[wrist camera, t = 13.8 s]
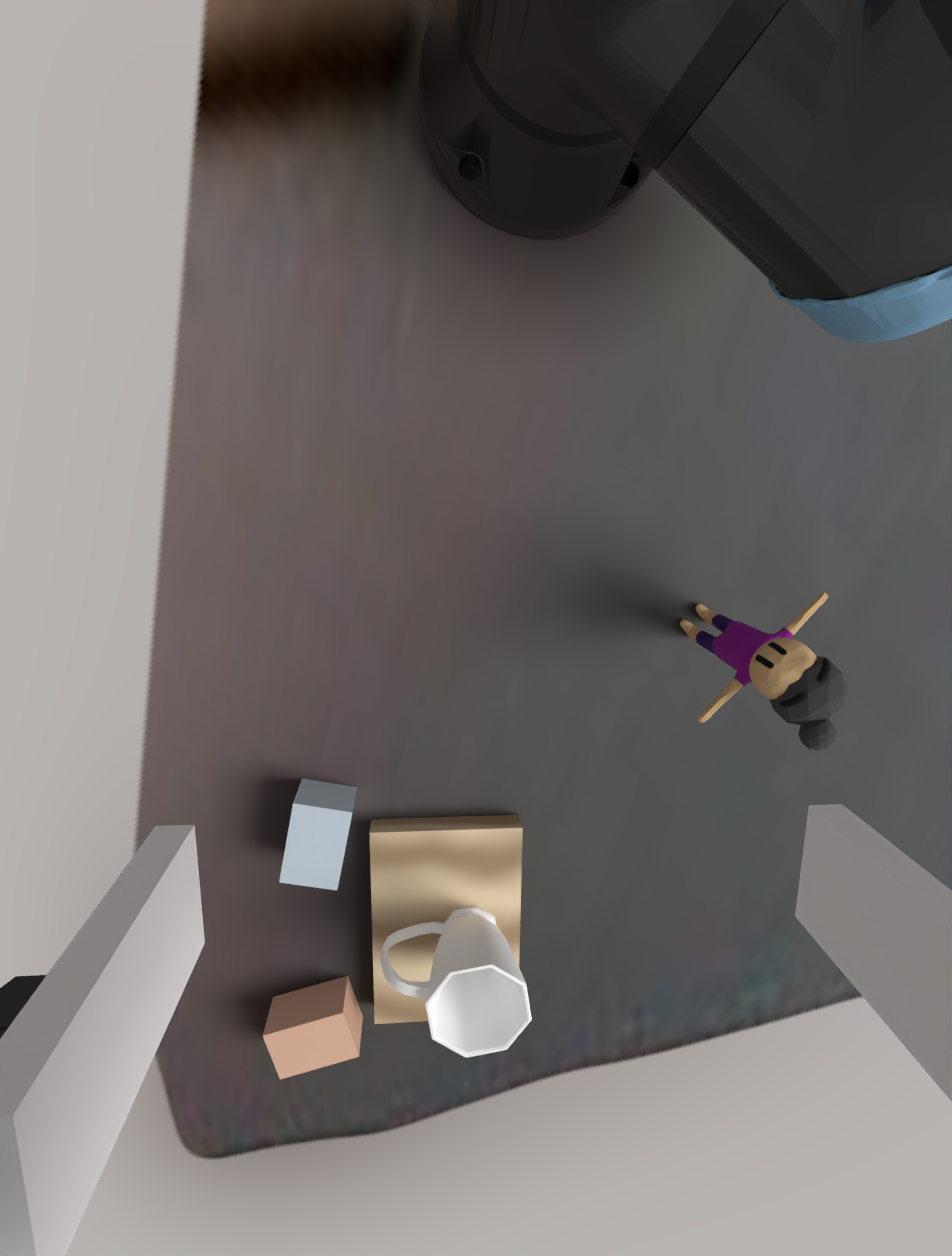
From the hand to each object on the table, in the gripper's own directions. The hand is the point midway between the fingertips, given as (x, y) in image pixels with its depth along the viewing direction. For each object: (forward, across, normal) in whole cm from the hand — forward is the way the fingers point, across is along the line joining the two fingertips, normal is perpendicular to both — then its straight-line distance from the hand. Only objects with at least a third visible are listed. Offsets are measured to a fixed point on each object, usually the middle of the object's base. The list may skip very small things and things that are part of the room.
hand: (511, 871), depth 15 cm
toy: (+35, +19, -3) cm, 40 cm away
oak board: (+35, 0, -25) cm, 43 cm away
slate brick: (+35, -9, -17) cm, 40 cm away
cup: (+33, 0, -25) cm, 41 cm away
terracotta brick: (+35, -10, -33) cm, 49 cm away
